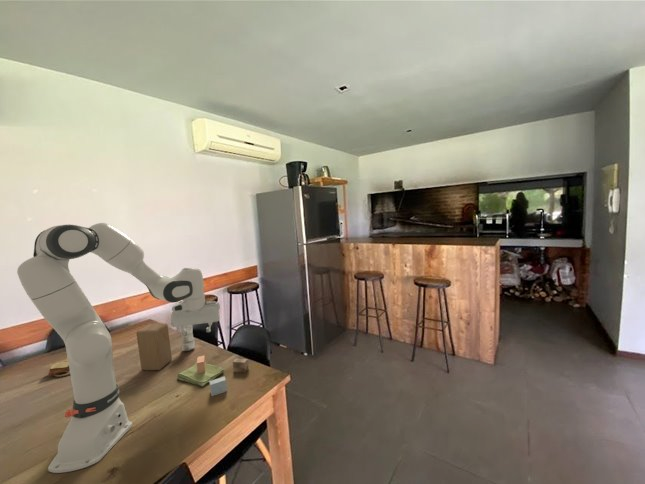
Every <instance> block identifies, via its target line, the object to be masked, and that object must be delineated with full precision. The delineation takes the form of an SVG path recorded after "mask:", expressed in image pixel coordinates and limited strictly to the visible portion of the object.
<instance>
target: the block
mask: <svg viewBox="0 0 645 484" xmlns="http://www.w3.org/2000/svg"><path fill="white" fill-rule="evenodd" d="M136 341H137V347H138V353H139V354H138V357H139V361H140V362H139V363H140V368H141V370H142V371H159V370H162V369H163V368H164V367H165V366H166V365H167V364H169V363H170V362H171V361H172V359H173V357H172V350H171V349H172V348H171V341H170V332H169V324H168V323H167V322H165V323H164V322H163V323H149V324H148V325H145V326H144V327H142V328H140V329H138V330H137V331H136Z"/></svg>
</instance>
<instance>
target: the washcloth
mask: <svg viewBox="0 0 645 484" xmlns="http://www.w3.org/2000/svg"><path fill="white" fill-rule="evenodd" d="M205 363H206V368H205V372H203V373H199V374H198V370H197V362H196V363H195V364H193V365H191V366H190V367H189V368H187V369H185V370H182V371H181V372H178V374H177V379H178V380H179V381H181V382H182V381H183V382H187V383H190V384H192V385H197V386H200V387H205V386H206V385H207V384H208V383H210V382H209V381H212V380H215V379H217V377H219V376H220V375H221V374H223V372H225V370H224V368H222V367H221V366H219V365H213V364H210V363H207V362H205Z"/></svg>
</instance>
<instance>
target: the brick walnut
mask: <svg viewBox="0 0 645 484" xmlns="http://www.w3.org/2000/svg"><path fill="white" fill-rule="evenodd" d="M232 369H233V373H241V372H246V371H248V370H249V359H248V358H235V359H234V360H233V361H232ZM246 373H247V372H246Z"/></svg>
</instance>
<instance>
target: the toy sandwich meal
mask: <svg viewBox="0 0 645 484" xmlns="http://www.w3.org/2000/svg"><path fill="white" fill-rule="evenodd" d="M48 376H49V377H51V376H54V377H56V378H63V377H67V376H71V375H70V370H69V364H68V360H67V361H60V362H55V363H54V364H52V365H51V366H50V367H49V371H48ZM62 376H63V377H62Z"/></svg>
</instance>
